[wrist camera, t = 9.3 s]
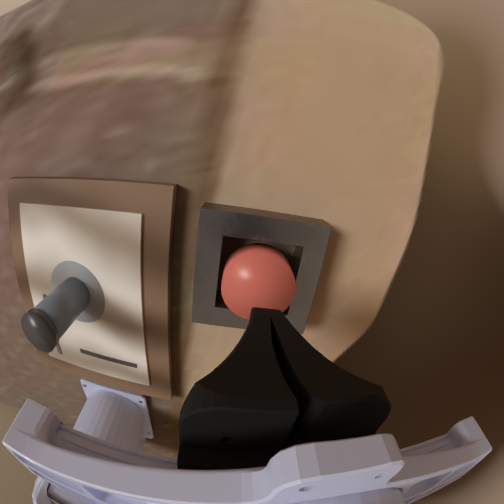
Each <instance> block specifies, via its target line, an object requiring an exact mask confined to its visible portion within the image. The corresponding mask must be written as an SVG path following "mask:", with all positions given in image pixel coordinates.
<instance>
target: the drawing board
mask: <svg viewBox="0 0 504 504" xmlns="http://www.w3.org/2000/svg"><path fill="white" fill-rule="evenodd" d="M176 194H177V184H169V183H158V182H146V181H133V180H119V179H101V178H76V177H13V178H9V179H8V207H9V223H10V233H11V242H12V250H13V256H14V263H15V268H16V274H17V279H18V284H19V288H20V292H21V297H22V301H23V305H24V308H25V312H26V313H27V312H28V311H29V310H30V309H33V308H34V307H35V306H36V305H38V304H39V303H40V302H41V301H42V300H43V299H44V298H45V297H46V296H47V295H49V294H50V293H51V292H52V291H53V290H54V289H55V288H56V287H58V286H59V285H60V284H61V283H62V282H63V281H65V280H66V279H67V278H69V277H76V278H78V279H80V280H81V281H82V282H83V283H84V284H85V285H86V286H87V288H88V290H89V293H90V303H89V305H88V306H87V307H86V308H85V309H84V310H83V312H82V313H81V314H80V315H79V316H78V317H77V319H76V320H75V321H74V322H73V323H72V325H71V326H70V327H69V328H68V329H67V331H66V332H65V333H64V334H63V336H62V337H61V338H60V339H59V343H58V344H57V345H56V347H55V348H54V349H53V351H52V352H50V353H46V352H43V351H40V350H39V349H38V352H39V355H40V357H41V360H42V362H44V363H46V364H48V365H51V366H53V367H56V368H58V369H61V370H63V371H66V372H68V373H71V374H74V375H77V376H79V377H82V378H85V379H88V380H91V381H94V382H97V383H101V384H104V385H107V386H111V387H114V388H118V389H121V390H125V391H129V392H133V393H137V394H141V395H145V396H150V397H154V398H159V399H164V400H169V401H171V400H172V396H173V383H172V363H171V268H172V246H173V230H174V217H175V205H176Z"/></svg>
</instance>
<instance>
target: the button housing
mask: <svg viewBox="0 0 504 504" xmlns="http://www.w3.org/2000/svg"><path fill="white" fill-rule="evenodd" d="M331 228H332V227H331V226H329V225H328V224H327V223H326V222H325V221H323V220H320V219H315V218H309V217H303V216H297V215H290V214H284V213H278V212H271V211H265V210H258V209H251V208H244V207H236V206H229V205H221V204H214V203H206V202H205V203H204V205H203V206H202V207H201V209H200V219H199V229H198V239H197V250H196V262H195V275H194V290H193V307H192V322H196V323H202V324H210V325H217V326H225V327H233V328H242V329H246V328H247V326H248V323H249V320H248V319H245V318H242V317H240V316H238V315H236V314H235V313H233V312H232V311H231V310H230V309H229V308H228V307H227V305H226V304H225V302H224V300H223V297H222V294H221V293H217V290H218V280H219V272H220V263H221V255H222V246H223V238H224V236H229V237H236V238H244V239H251V240H258V241H266V242H273V243H280V244H287V245H294V246H296V248H295V253H294V258H293V262H292V267H291V270H292V272H293V275H294V278H295V282H296V291H295V295H294V298H293V300H292V302H291V304H290V305H289V306H288V307H287V309H286V310H284V311H283V312H282V313H283V314H284V315H285V317H286V318H287V319H288V320H289V322H290V323H291V324H292V325H293V326H294V328H295V329H296V330H297V331H298V332H299V333H300V334H303V332H304V329H305V326H306V322H307V319H308V316H309V312H310V309H311V305H312V302H313V298H314V295H315V291H316V288H317V284H318V280H319V276H320V273H321V269H322V265H323V261H324V257H325V253H326V249H327V245H328V241H329V236H330V232H331Z"/></svg>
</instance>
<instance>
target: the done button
mask: <svg viewBox="0 0 504 504" xmlns="http://www.w3.org/2000/svg"><path fill="white" fill-rule="evenodd" d="M295 291H296V282H295V278H294V275H293V272H292V270H291V267H290V265H289V263H288V260H287V259H286V257H285V256H284V254H283V253H282V252H281V251H279V250H278V249H277V248H275V247H273V246H271V245H268V244H263V243H252V244H248V245H244V246H242V247H240V248H239V249H237V250H236V251H234V252H233V253H232V254H231V255H230V257H229V258H228V259H227V261H226V263H225V266H224V271H223V277H222V283H221V293H222V297H223V300H224V302H225V304H226V305H227V307H228V308H229V309H230V310H231V311H232V312H233V313H235V314H236V315H238V316H240V317H242V318H245V319H248V320H249V318H250V312H251V309H252V308H253V307H258V308H267V309H277V310H281V312H283V311H284V310H286V309H287V307H288V306H289V305H290V304H291V302H292V300H293V298H294V295H295Z"/></svg>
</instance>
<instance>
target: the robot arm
mask: <svg viewBox="0 0 504 504" xmlns="http://www.w3.org/2000/svg"><path fill="white" fill-rule="evenodd" d="M80 382H81V384H82V387H83V389H84V392H85V394H86V397H87V401H86V403H85V405H84V407H83V409H82V411H81V413H80V415H79V417H78V419H77V421H76V424H75V426H74V428H70V427H68V426H66V425H63V424H61V423H60V420H59V418H58V416H57V415H56V414H55V413H54V412H53V411H52V410H50V409H49V408H47V407H45V406H43V405H41V404H39V403H37V402H35V401H33V400H31V399H27V400H26V402H25V403H24V405H23V406H22V408H21V410H20V411H19V413H18V414H17V416H16V418H15V419H14V421H13V423H12V425H11V426H10V428H9V430H8V432H7V433H6V435H5V437H4V439H3V441H2V442H3V444H4V445H5V446H6V448H7V449H8V450H9V451H10V452H11V453H12V454H13V455H14V456H15V457H16V458H17V459H18V460H19V461H20V462H21V463H22V464H23V465H24V466H25V467H27V469H29V470H30V471H31V472H32V473H33V474H35V475H37V479H36V481H35V487H34V490H33V493H32V498H33V503H34V504H55V503H53V502H52V501H51V500H50V499H49V498H51V499H53V500H55V501H57V502H58V503H60V504H410V503H412V502H414V501H416V500H418V499H420V498H423V497H425V496H426V495H428V494H431V493H433V492H434V491H436V490H438V489H440V488H442V487H444V486H446V485H447V484H449V483H451V482H453V481H455V480H456V479H458V478H460V477H461V476H463V475H464V474H465V473H466V472H468V471H469V470H470V469H471V468H472V467H473V466H475V465H476V464H477V463H478V462H479V461H481V460H482V459H483V458H484V457H485V456H486V455H487V454H488V453H489V452H490V451H491V450H492V447H491V446H490V444H489V442H488V440H487V439H486V437H485V436H484V434H483V432H482V431H481V429H480V427H479V426H478V424H477V423H476V421H475V420H474V418H473V417H469V418H467V419H465V420H462V421H460V422H458V423H457V424H455V425H454V426H453V427H452V428H451V429H450V431H449V432H448V433H447V434H445V435H442V436H440V437H437V438H434V439H432V440H429V441H426V442H423V443H420V444H417V445H413V446H410V447H407V448H403V449H399V447H398V444H397V442H396V440H395V438H394V437H393V435H392V434H376V433H375V432H376V431H377V430H378V428H379V427H380V426H381V425H382V423H383V422H384V421H385V419H386V418H387V416H388V415H389V413H390V410H391V404H390V402H389V400H388V398H387V396H386V394H385V392H384V390H383V388H382V387H381V386H379V385H376V384H374V383H371V382H369V381H366V380H364V379H361V378H359V377H357V376H355V375H353V374H351V373H349V372H347V371H346V370H344V369H342V368H340V367H339V366H337V365H336V364H334V363H333V362H331V361H330V360H328V359H327V358H326V357H324V356H323V355H322V354H321V353H319V352H318V351H317V350H316V349H315V348H314V347H312V346H311V345H310V344H309V343H308V342H307V341H306V340H305V339H304V338H303V337H302V336H301V334H300V333H299V332H298V331H297V330H296V329H295V328H294V326H293V325H292V324H291V323H290V322H289V320H288V319H287V318H286V317H285V315H284V314H283V313H282V312H281V310H277V309H267V308H258V307H253V308H252V309H251V312H250V318H249V323H248V326H247V328H246V330H245V332H244V334H243V336H242V338H241V339H240V341H239V343H238V344H237V345H236V347H235V348H234V350H233V351H232V352H231V353H230V354H229V356H228V357H227V358H226V359H225V360H224V361H223V362H222V363H221V364H220V365H219V366H218V367H216V368H215V369H214V370H213V371H212V372H211V373H209V374H208V375H207V376H205V377H204V378H202V379H200V380H199V381H197V382H196V383H195V384H194V386H193V387H192V389H191V391H190V392H189V394H188V396H187V397H186V399H185V401H184V404H183V406H182V409H181V412H180V418H179V424H178V429H179V440H180V446H179V452H178V459H174V458H168V457H163V456H159V455H154V454H150V453H146V452H142V451H143V447H144V443H145V439H146V438H149V439H153V438H154V434H153V430H152V425H151V421H150V416H149V411H148V406H147V401H146V397H145V396H144V395H141V394H137V393H133V392H129V391H125V390H121V389H118V388H114V387H111V386H107V385H104V384H101V383H97V382H94V381H91V380H88V379H85V378H82V379H81V380H80ZM48 497H49V498H48Z"/></svg>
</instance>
